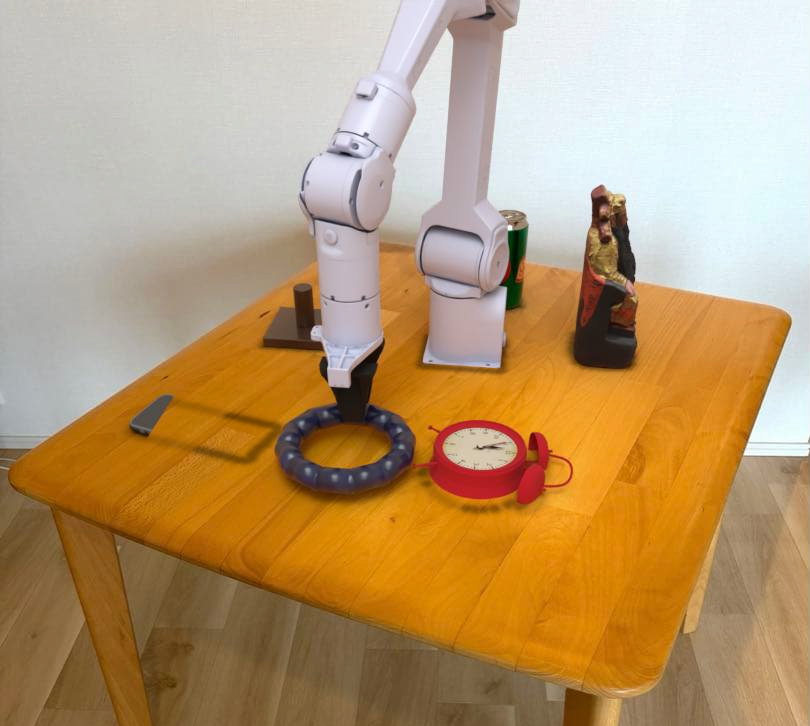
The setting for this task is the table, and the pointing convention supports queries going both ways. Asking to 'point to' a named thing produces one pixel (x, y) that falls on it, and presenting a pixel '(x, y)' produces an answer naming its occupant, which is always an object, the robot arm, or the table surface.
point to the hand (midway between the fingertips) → (355, 412)
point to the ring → (342, 477)
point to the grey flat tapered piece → (150, 414)
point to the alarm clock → (489, 461)
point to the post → (295, 322)
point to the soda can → (515, 256)
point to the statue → (607, 287)
